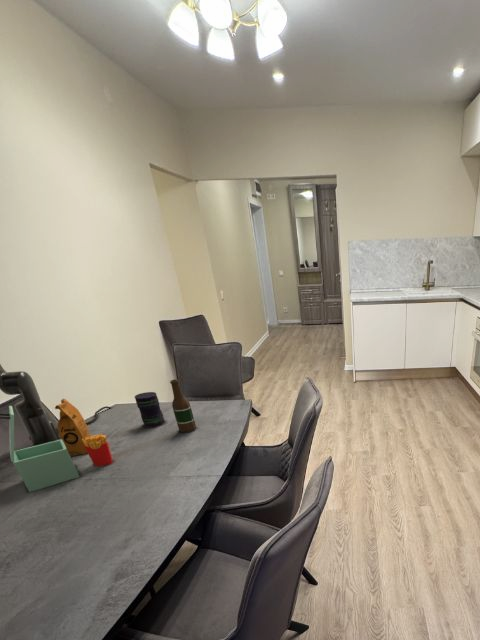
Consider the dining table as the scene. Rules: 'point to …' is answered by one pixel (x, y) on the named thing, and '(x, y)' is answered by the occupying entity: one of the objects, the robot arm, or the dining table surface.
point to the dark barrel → (149, 409)
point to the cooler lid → (10, 430)
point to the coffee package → (72, 428)
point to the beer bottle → (182, 409)
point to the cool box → (44, 465)
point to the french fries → (98, 449)
